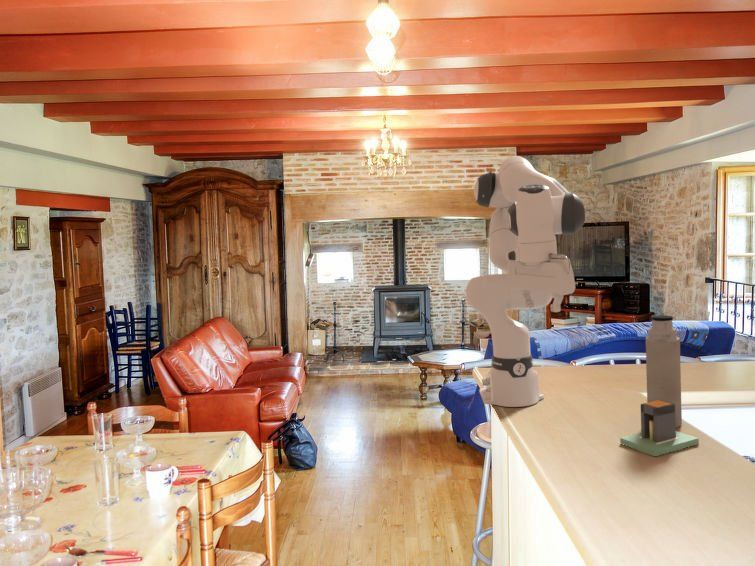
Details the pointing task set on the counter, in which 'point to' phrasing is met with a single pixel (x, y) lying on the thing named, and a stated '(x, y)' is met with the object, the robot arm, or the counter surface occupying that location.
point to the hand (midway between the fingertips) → (542, 309)
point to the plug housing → (658, 420)
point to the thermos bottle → (664, 364)
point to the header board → (661, 447)
